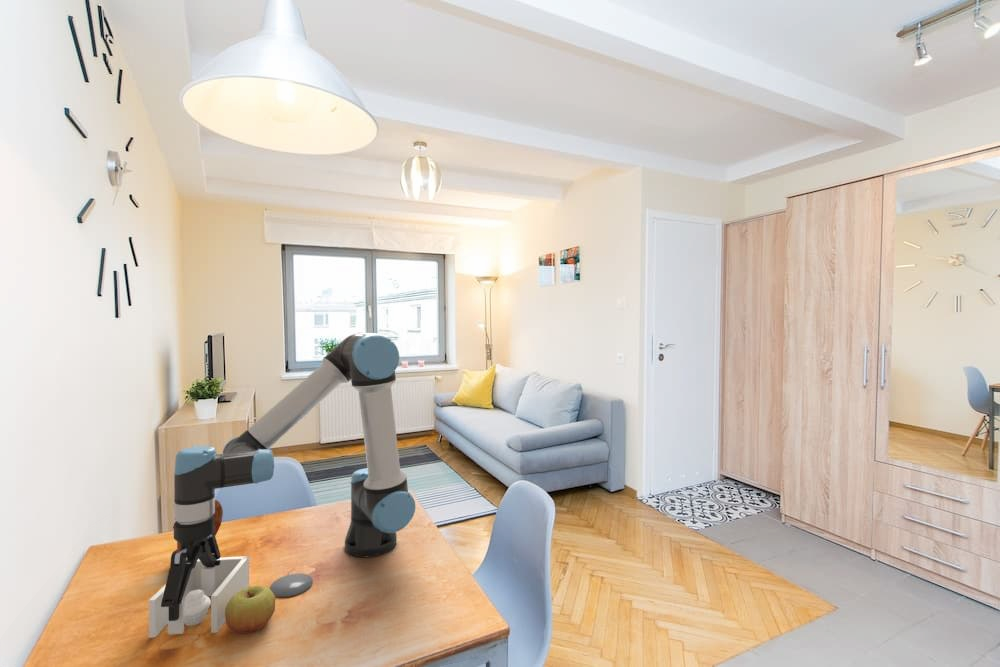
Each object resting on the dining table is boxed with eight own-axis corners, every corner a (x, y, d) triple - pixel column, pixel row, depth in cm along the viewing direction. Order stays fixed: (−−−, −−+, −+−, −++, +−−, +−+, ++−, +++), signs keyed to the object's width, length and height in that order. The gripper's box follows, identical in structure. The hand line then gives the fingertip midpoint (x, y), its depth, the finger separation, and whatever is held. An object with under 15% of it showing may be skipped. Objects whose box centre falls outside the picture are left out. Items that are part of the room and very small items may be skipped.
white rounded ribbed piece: (190, 612, 105) (190, 582, 105) (216, 613, 105) (217, 583, 105) (170, 630, 99) (170, 598, 99) (198, 631, 99) (198, 599, 99)
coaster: (316, 574, 122) (316, 572, 122) (306, 596, 112) (306, 594, 112) (277, 576, 121) (277, 574, 121) (263, 599, 111) (263, 596, 111)
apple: (221, 645, 95) (221, 607, 95) (228, 618, 104) (228, 583, 104) (274, 633, 99) (274, 596, 99) (276, 607, 108) (276, 574, 107)
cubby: (249, 587, 116) (249, 556, 116) (217, 632, 99) (217, 595, 99) (191, 591, 114) (191, 559, 114) (148, 637, 97) (148, 600, 97)
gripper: (204, 497, 114) (203, 582, 114) (140, 545, 89) (138, 653, 89) (236, 497, 115) (235, 581, 115) (182, 543, 90) (180, 650, 90)
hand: (193, 613), depth 102 cm, fingers open, 13 cm apart
